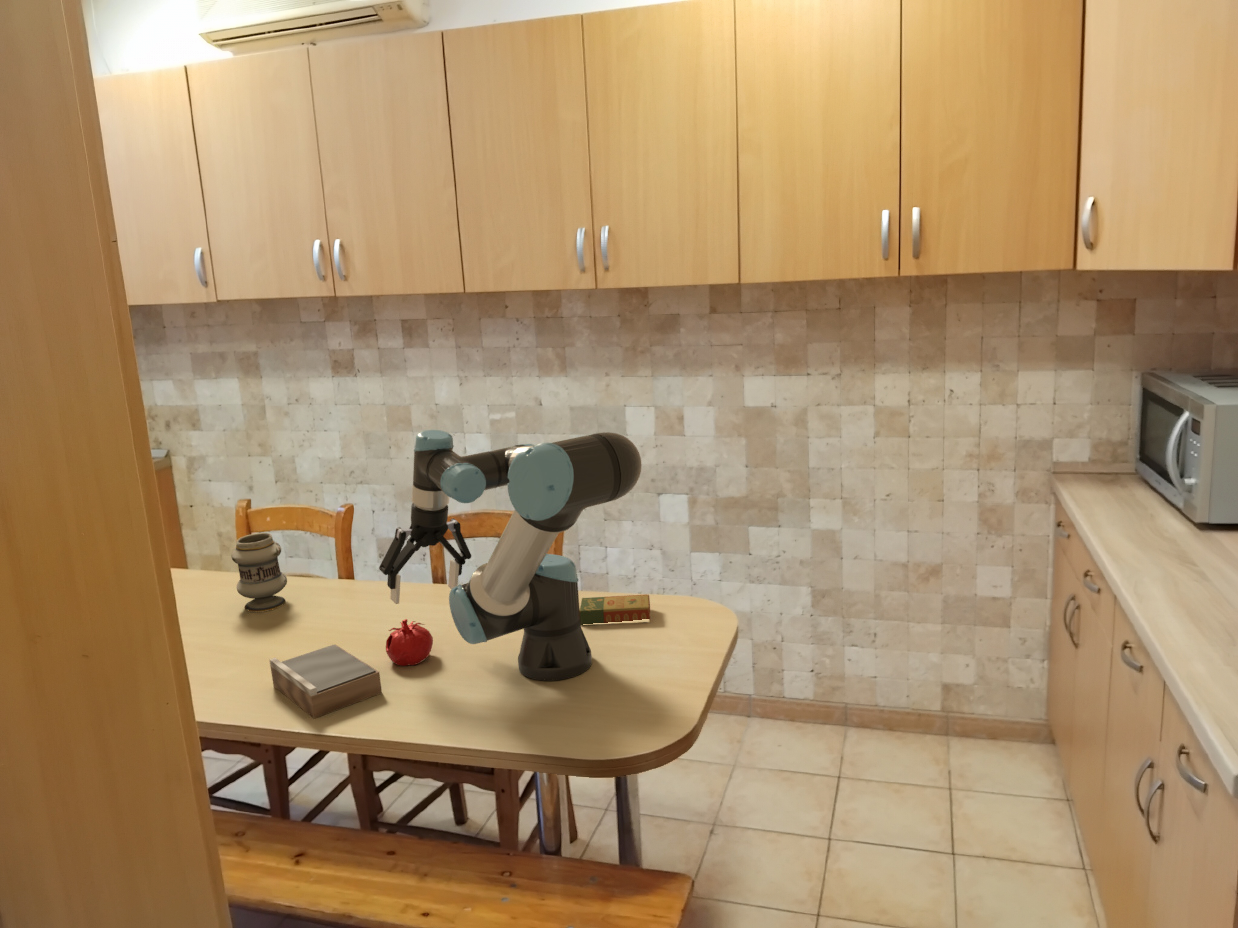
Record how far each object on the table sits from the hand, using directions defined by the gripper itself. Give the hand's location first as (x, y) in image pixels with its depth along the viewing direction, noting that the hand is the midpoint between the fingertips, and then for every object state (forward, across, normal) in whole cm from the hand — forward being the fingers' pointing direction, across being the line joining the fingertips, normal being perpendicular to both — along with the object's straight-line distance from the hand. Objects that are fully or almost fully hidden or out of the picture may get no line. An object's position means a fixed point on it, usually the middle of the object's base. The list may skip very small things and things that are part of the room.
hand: (424, 594), depth 203 cm
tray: (+14, +23, +5) cm, 27 cm away
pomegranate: (+13, +4, +4) cm, 14 cm away
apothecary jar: (+26, +16, -53) cm, 61 cm away
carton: (+7, -41, +16) cm, 44 cm away
